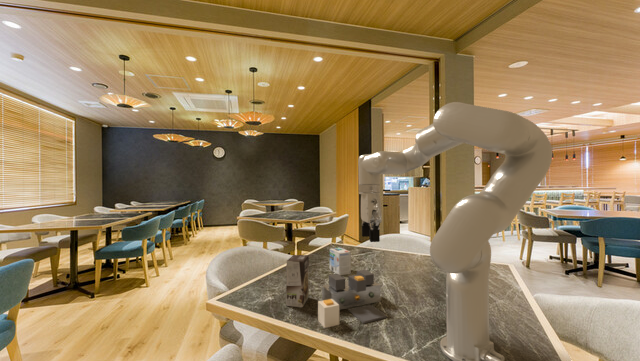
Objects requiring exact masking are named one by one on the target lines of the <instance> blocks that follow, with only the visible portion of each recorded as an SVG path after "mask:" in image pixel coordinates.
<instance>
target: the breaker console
mask: <svg viewBox="0 0 640 361" xmlns="http://www.w3.org/2000/svg"><path fill="white" fill-rule="evenodd" d="M321 298H322V299H321V301H323V300H328V299H333V300H334V301H335V302H336V303H338V304H339V311H341V310H345V309H351V308H356V307H361V306H366V305H371V304H373V303H378V302H379V303H380V302H381V284H380V283H378V282H376V281H374V284H371V285H366V291H361V292H356V291H355V290H353V289H352V288H350V287H349V286H348V280H347V281H345V289H343V290H337V291H336V290H335V289H333V288H332V287H331V286H330V285H329V283H327V284H324V285H322V286H321Z"/></svg>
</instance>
